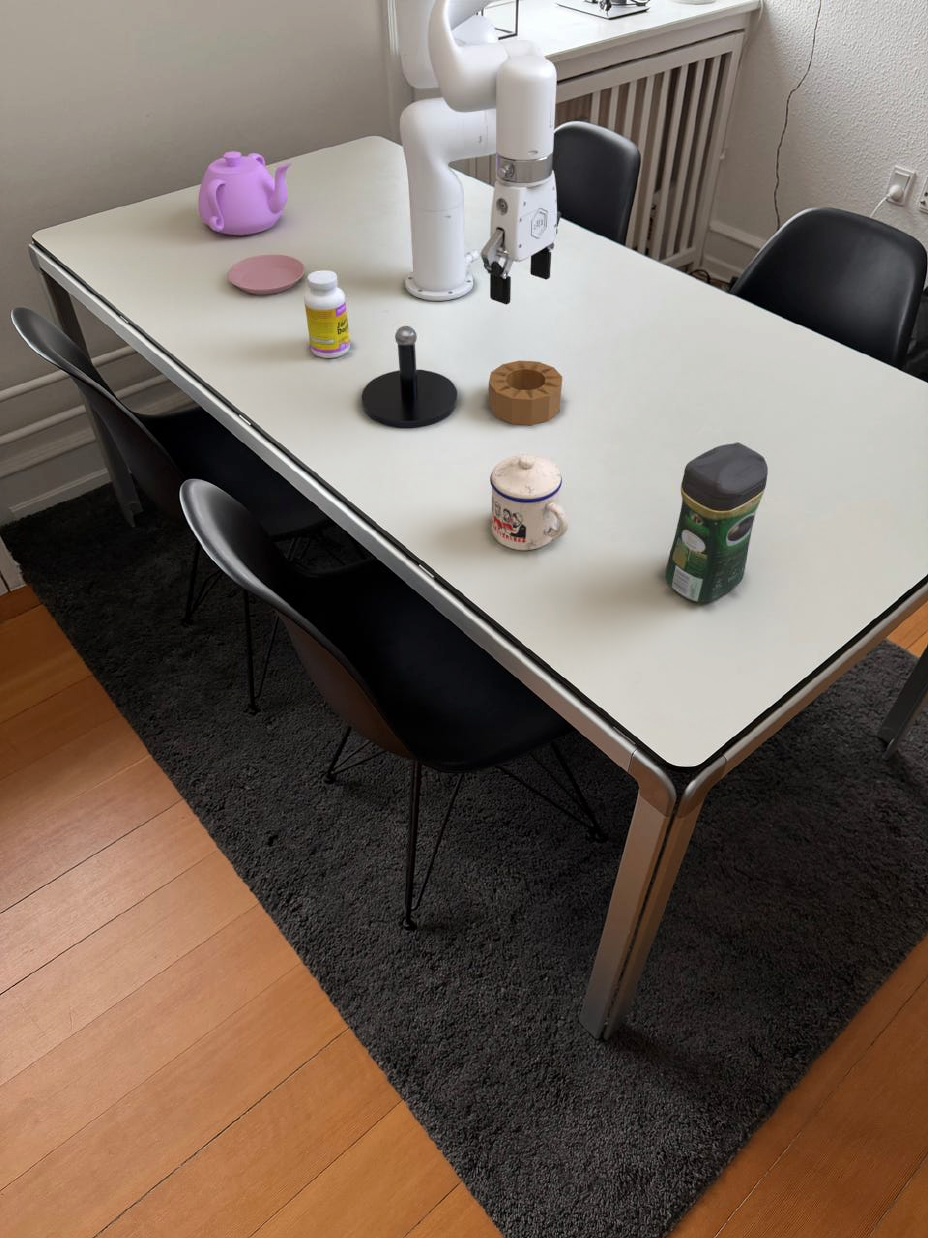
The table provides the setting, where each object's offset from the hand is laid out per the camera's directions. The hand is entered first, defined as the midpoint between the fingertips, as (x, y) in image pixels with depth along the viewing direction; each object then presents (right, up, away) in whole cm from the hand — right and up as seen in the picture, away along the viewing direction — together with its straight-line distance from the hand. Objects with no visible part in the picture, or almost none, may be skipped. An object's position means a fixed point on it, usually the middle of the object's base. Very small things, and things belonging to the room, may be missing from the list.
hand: (520, 288), depth 137 cm
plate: (-45, +16, +41) cm, 63 cm away
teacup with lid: (+1, -37, -12) cm, 39 cm away
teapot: (-52, +34, +59) cm, 85 cm away
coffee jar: (+22, -43, -18) cm, 52 cm away
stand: (-17, -14, +11) cm, 24 cm away
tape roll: (+1, -15, +10) cm, 18 cm away
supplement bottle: (-31, -2, +23) cm, 38 cm away
